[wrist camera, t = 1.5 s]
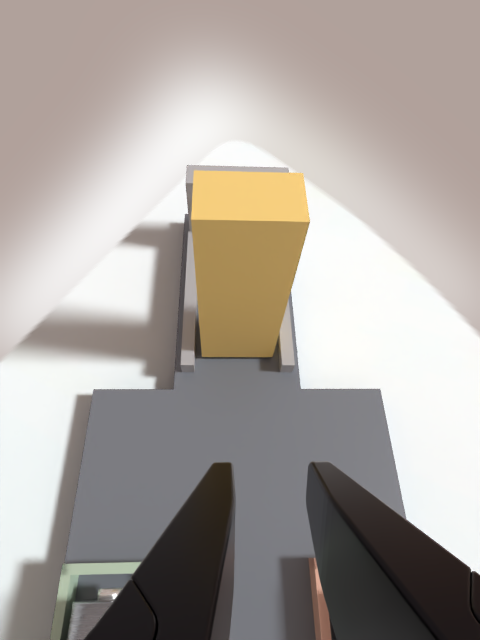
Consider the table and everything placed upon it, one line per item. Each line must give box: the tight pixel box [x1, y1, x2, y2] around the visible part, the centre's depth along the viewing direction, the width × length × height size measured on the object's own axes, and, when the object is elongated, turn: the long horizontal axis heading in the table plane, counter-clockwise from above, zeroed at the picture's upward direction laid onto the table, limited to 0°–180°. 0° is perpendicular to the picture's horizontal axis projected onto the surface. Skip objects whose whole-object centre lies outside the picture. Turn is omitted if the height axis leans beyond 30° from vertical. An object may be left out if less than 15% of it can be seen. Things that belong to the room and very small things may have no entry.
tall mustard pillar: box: [191, 170, 310, 357], centre depth 19 cm, size 2×4×11 cm, turn 91°
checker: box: [50, 165, 406, 640], centre depth 20 cm, size 30×16×6 cm, turn 1°
